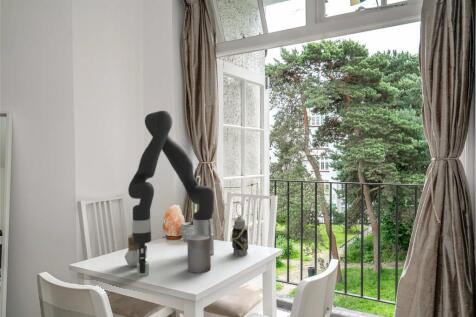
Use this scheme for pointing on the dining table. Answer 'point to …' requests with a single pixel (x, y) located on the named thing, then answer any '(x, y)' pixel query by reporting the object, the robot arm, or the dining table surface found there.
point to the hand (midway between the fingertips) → (142, 269)
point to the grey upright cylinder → (199, 253)
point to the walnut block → (131, 244)
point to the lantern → (240, 236)
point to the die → (132, 258)
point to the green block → (145, 269)
